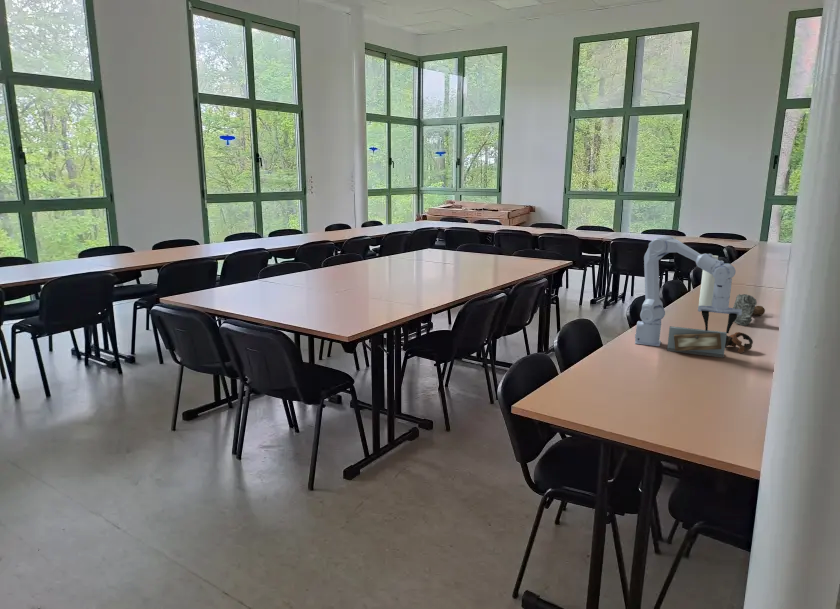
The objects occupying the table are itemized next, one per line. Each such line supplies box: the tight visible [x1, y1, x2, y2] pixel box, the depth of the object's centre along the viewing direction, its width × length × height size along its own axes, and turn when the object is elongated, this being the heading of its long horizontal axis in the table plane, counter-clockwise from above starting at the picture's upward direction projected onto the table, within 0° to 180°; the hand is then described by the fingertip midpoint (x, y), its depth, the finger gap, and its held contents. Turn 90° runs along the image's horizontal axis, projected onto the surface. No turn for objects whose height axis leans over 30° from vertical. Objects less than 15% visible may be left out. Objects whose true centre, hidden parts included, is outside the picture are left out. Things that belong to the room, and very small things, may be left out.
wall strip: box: [666, 326, 728, 358], centre depth 223 cm, size 20×5×10 cm, turn 64°
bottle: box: [698, 254, 719, 306], centre depth 295 cm, size 8×8×28 cm
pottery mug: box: [725, 331, 754, 354], centre depth 226 cm, size 12×10×8 cm
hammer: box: [732, 293, 766, 326], centre depth 274 cm, size 15×10×30 cm
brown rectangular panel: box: [674, 333, 721, 351], centre depth 219 cm, size 16×3×6 cm, turn 64°
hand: (716, 331), depth 215 cm, fingers open, 6 cm apart
